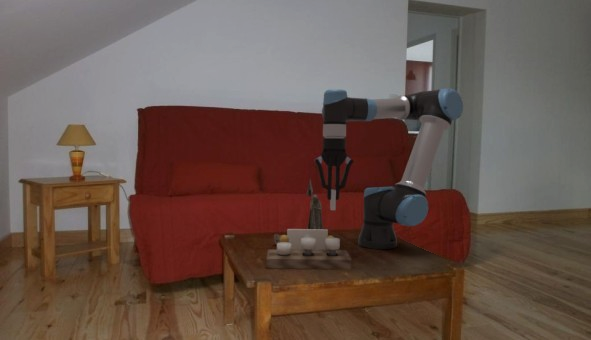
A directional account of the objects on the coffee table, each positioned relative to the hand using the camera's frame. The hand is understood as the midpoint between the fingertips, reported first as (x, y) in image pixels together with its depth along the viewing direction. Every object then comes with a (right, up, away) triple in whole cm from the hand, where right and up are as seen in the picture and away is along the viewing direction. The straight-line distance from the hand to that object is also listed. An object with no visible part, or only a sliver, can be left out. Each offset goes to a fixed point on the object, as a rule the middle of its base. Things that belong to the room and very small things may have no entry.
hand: (332, 209), depth 141 cm
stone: (-16, -17, +22) cm, 32 cm away
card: (-8, -18, +7) cm, 21 cm away
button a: (0, -16, +1) cm, 16 cm away
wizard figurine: (-5, -16, +38) cm, 41 cm away
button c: (-16, -17, +1) cm, 24 cm away
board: (-8, -18, +1) cm, 20 cm away
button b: (-8, -16, +1) cm, 18 cm away
